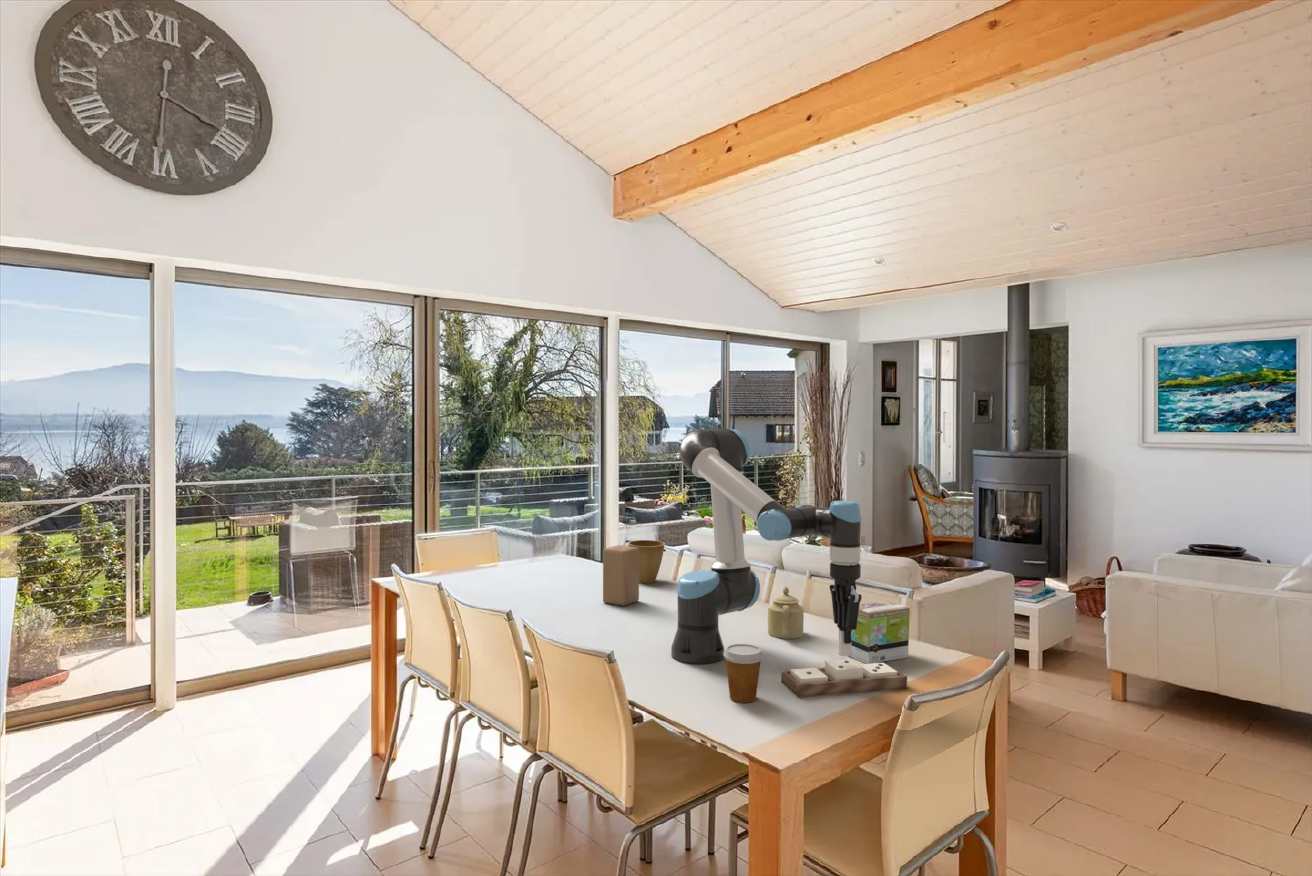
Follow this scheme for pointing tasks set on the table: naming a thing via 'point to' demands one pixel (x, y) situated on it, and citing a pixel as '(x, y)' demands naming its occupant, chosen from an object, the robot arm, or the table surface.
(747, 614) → the table surface
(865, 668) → the tile
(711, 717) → the table surface
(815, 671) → the tile
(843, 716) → the table surface
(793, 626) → the beige teapot
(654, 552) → the plant pot
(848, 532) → the robot arm
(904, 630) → the tea box
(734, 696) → the disposable coffee cup
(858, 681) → the board
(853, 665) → the tile
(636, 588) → the block
